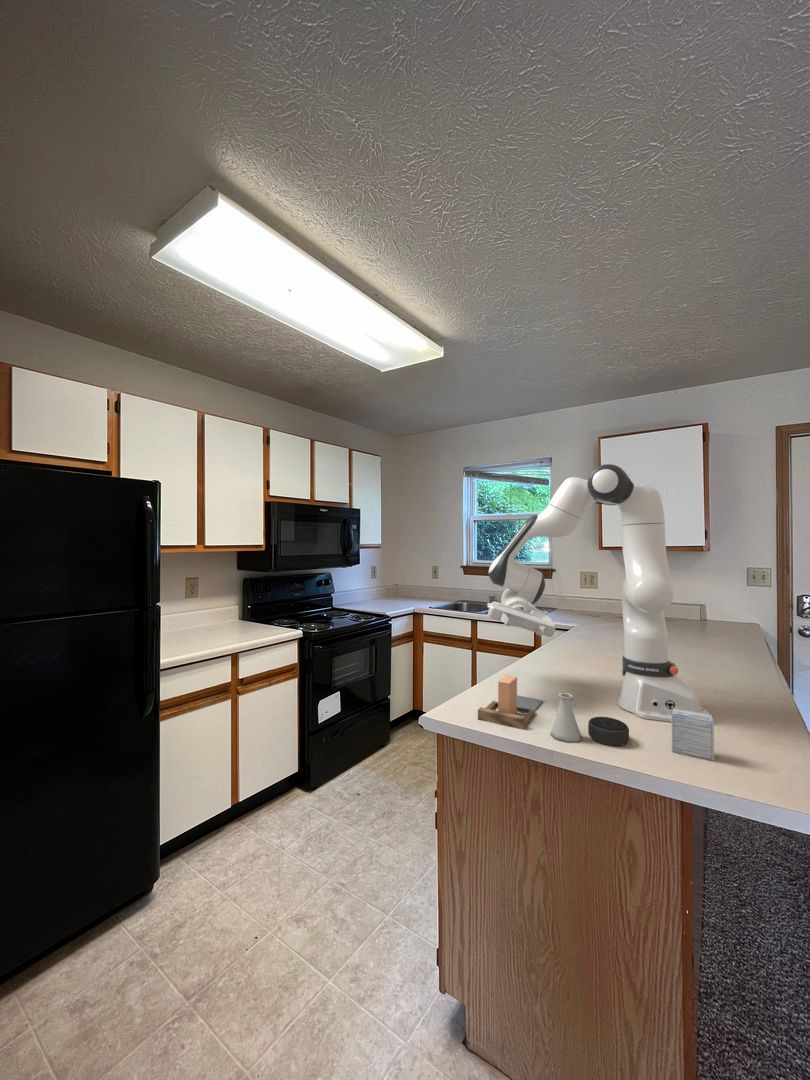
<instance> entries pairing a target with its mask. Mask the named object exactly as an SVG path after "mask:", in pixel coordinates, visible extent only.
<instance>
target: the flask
mask: <svg viewBox="0 0 810 1080" xmlns="http://www.w3.org/2000/svg"><path fill="white" fill-rule="evenodd" d="M558 697H559V699H560V701H559V707H558V712H557V715H556V718H555V720H554V723H553V726H552V728H551V731H550V735H551V737H553V738H554V739H555V740H559V741H564V742H570V743H571V742H573V743H574V742H580V741H581V740H582V737H583V736H582V734H581V731H580V728H579V726H578V723H577V720H576V716H575V713H574V710H573V704H572V702H573V701H572V699H573V698H574V696H573V694H570V693H567V692H562V693H561V692H560V693H559V695H558Z"/></svg>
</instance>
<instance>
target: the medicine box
mask: <svg viewBox="0 0 810 1080" xmlns="http://www.w3.org/2000/svg"><path fill="white" fill-rule="evenodd" d="M714 725H715V722H714V717H713V715H712V714H710V715H708V714H702V713H697V712H691V711H685V710H679V709H672V714H671V752H672V753H675V754H676V753H677V754H680V755H687V756H690V757H695V758H701V759H704V760H710V761H715V744H714V743H715V737H714V736H715V730H714V729H715V726H714Z"/></svg>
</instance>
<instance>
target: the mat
mask: <svg viewBox="0 0 810 1080" xmlns="http://www.w3.org/2000/svg"><path fill="white" fill-rule="evenodd" d="M543 702H544V700H543V699H539V698H533V697H530V696H529V697H527V696H522V695H518V694H517V706H521V707H526V708H531V709H536V711H537V710H538V708H539V707H540V706H541V704H543Z"/></svg>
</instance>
